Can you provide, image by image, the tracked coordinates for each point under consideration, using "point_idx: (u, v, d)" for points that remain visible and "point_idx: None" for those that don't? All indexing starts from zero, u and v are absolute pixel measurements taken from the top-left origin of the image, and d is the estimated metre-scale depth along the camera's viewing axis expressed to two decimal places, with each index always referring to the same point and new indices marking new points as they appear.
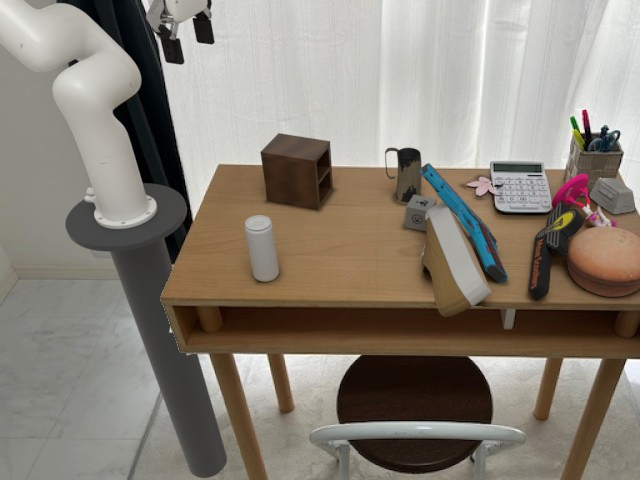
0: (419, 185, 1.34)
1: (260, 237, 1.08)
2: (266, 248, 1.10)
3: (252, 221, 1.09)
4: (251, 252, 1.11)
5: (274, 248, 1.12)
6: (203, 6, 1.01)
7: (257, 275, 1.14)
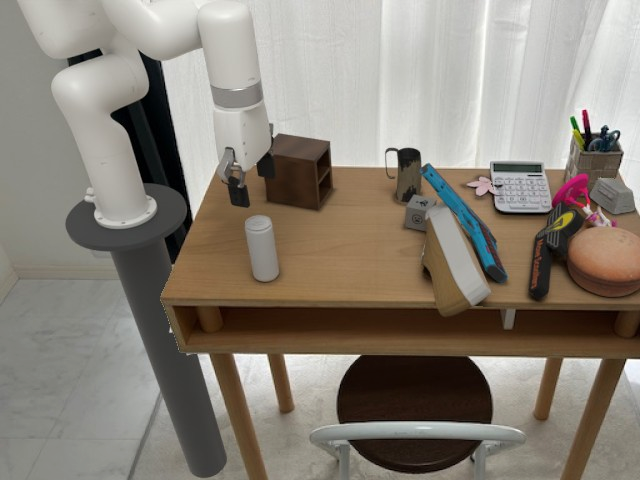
0: (419, 185, 1.34)
1: (260, 237, 1.08)
2: (266, 248, 1.10)
3: (252, 221, 1.09)
4: (251, 252, 1.11)
5: (274, 248, 1.12)
6: (267, 148, 1.02)
7: (257, 275, 1.14)
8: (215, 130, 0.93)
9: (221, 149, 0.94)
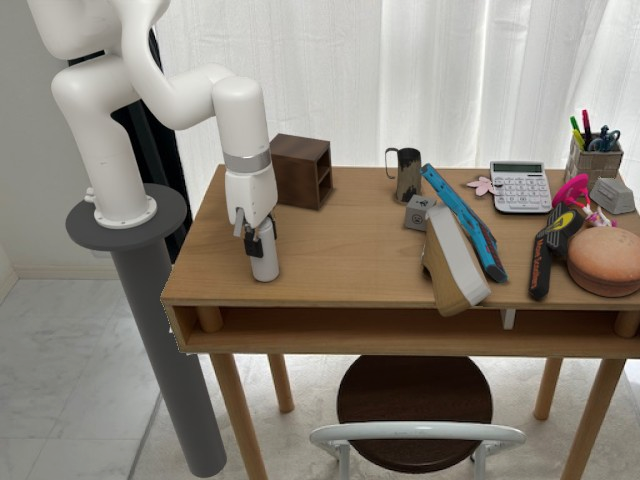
0: (419, 185, 1.34)
1: (260, 237, 1.08)
2: (266, 248, 1.10)
3: None
4: None
5: (274, 248, 1.12)
6: (274, 203, 1.09)
7: (257, 275, 1.14)
8: (226, 192, 1.00)
9: (231, 209, 1.02)
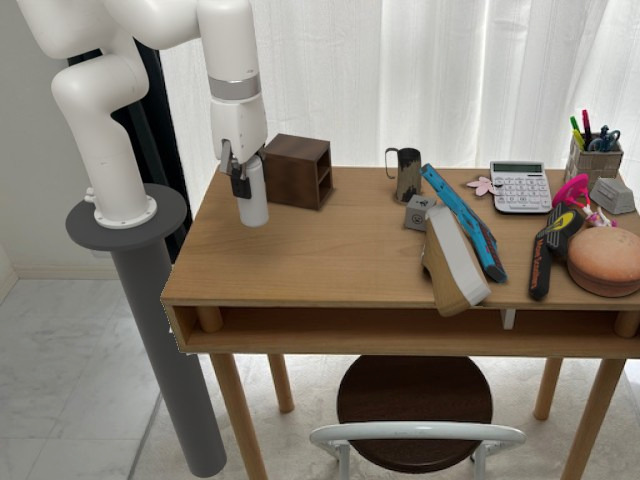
0: (419, 185, 1.34)
1: (249, 176, 1.00)
2: (255, 189, 1.02)
3: None
4: None
5: (263, 190, 1.04)
6: (264, 140, 1.01)
7: (245, 220, 1.06)
8: (212, 121, 0.92)
9: (217, 141, 0.94)
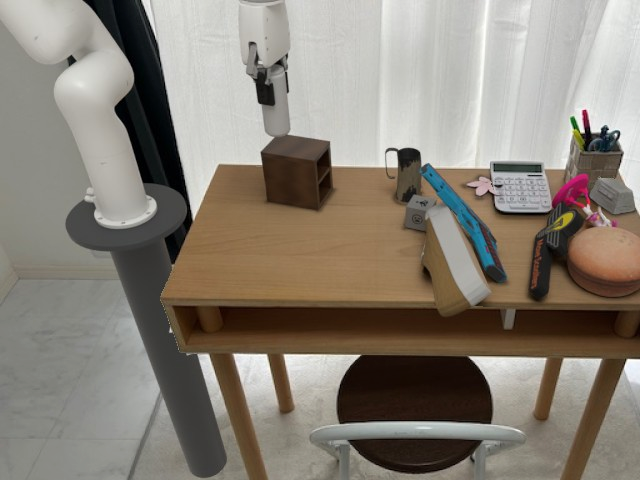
0: (419, 185, 1.34)
1: (273, 83, 1.08)
2: (278, 96, 1.10)
3: None
4: None
5: (286, 99, 1.12)
6: (287, 50, 1.09)
7: (269, 129, 1.14)
8: (239, 25, 1.00)
9: (244, 44, 1.01)
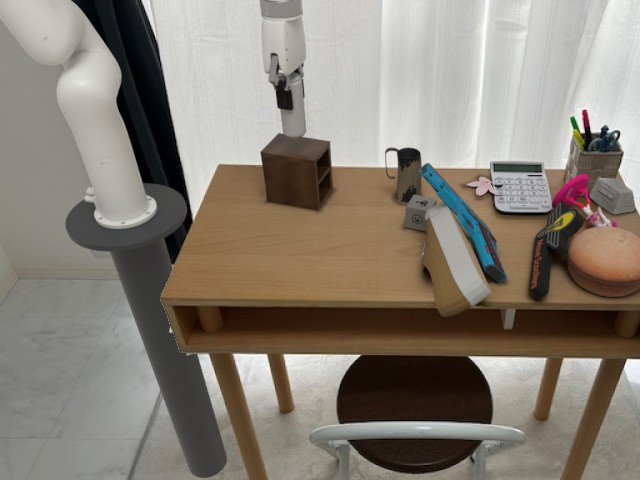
0: (419, 185, 1.34)
1: (291, 89, 1.19)
2: (296, 101, 1.21)
3: None
4: None
5: (303, 104, 1.23)
6: (303, 60, 1.20)
7: (287, 131, 1.25)
8: (262, 38, 1.11)
9: (266, 55, 1.13)
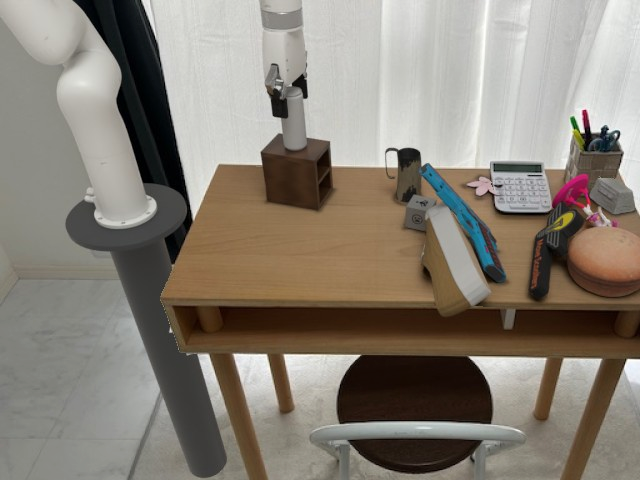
0: (419, 185, 1.34)
1: (292, 103, 1.21)
2: (297, 115, 1.23)
3: None
4: (283, 120, 1.24)
5: (303, 117, 1.25)
6: (303, 70, 1.22)
7: (288, 144, 1.27)
8: (263, 49, 1.13)
9: (267, 65, 1.14)
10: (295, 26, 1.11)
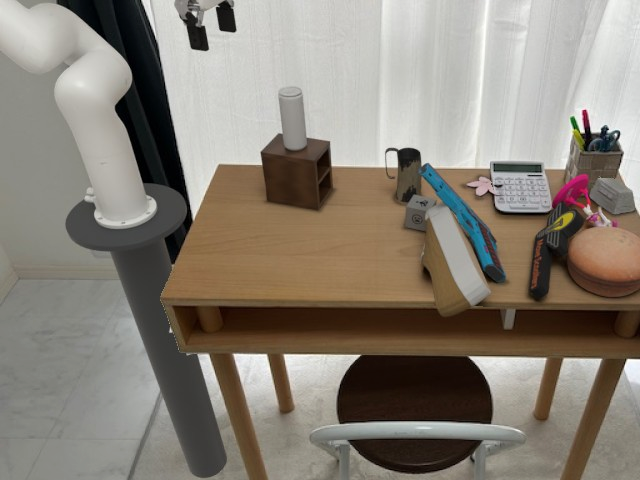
0: (419, 185, 1.34)
1: (292, 103, 1.21)
2: (297, 115, 1.23)
3: (284, 90, 1.22)
4: (283, 120, 1.24)
5: (303, 117, 1.25)
6: None
7: (288, 144, 1.27)
8: None
9: None
10: None
